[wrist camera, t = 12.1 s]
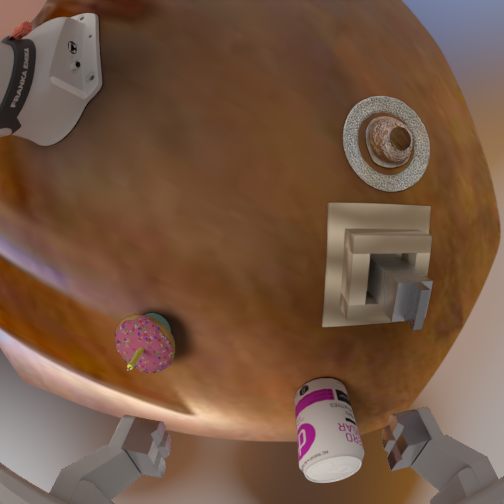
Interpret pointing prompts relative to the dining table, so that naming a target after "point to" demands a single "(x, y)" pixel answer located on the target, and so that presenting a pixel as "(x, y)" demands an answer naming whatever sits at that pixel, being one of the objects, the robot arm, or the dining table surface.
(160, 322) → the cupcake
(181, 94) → the dining table surface
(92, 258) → the dining table surface
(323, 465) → the supplement can
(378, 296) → the grey long block
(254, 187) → the dining table surface
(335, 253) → the well
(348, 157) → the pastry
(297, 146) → the dining table surface
